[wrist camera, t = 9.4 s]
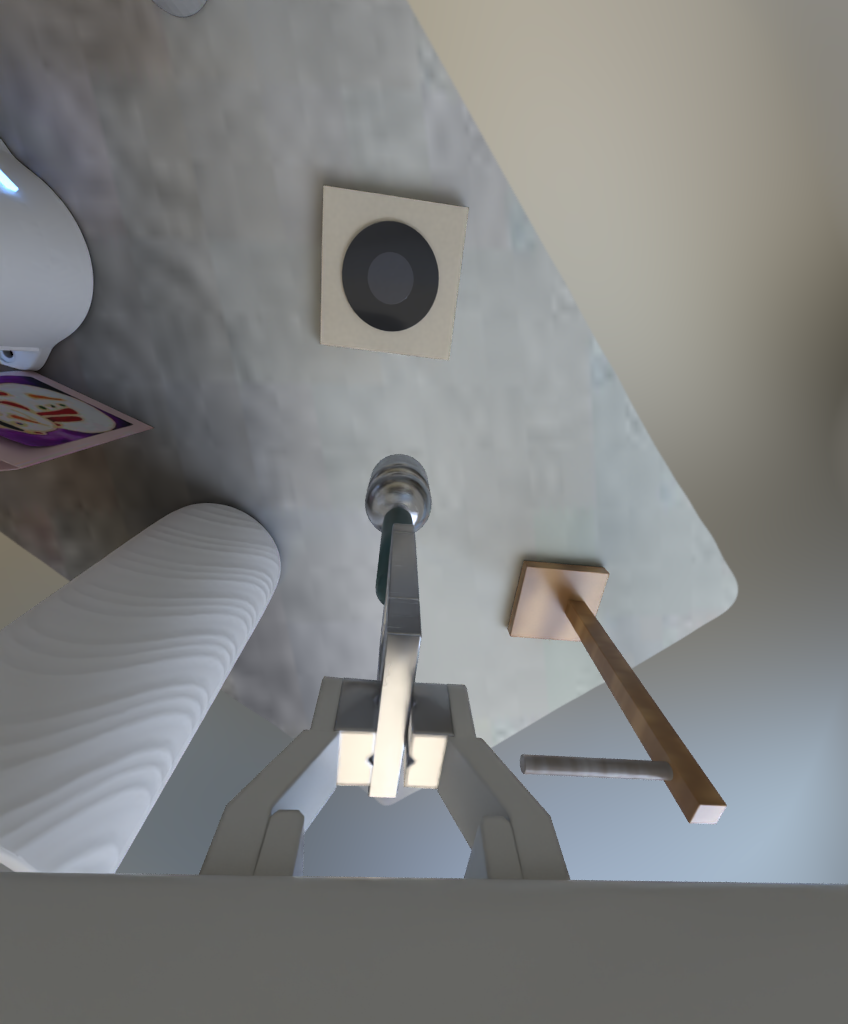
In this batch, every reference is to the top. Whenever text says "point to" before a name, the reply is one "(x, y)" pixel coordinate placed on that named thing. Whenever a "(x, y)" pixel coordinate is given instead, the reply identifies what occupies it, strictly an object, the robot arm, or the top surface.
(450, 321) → the hot plate
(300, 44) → the top surface
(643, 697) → the hook stand
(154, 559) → the vase
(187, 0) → the coffee cup
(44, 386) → the greeting card
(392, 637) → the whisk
